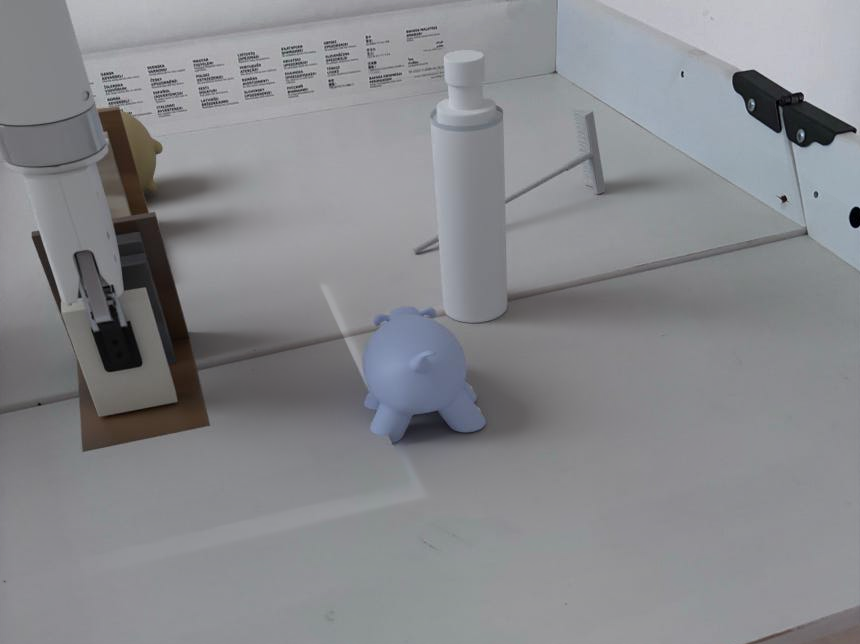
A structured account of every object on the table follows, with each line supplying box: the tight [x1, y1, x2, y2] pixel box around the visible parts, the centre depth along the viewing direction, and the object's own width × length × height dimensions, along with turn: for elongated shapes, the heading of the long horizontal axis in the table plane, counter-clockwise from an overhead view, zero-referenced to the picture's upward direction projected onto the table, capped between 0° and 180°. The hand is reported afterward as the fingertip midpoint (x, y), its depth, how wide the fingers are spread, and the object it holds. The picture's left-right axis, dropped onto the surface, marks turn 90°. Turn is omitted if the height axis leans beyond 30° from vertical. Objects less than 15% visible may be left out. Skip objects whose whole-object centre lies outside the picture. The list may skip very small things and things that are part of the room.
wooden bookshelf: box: [96, 106, 150, 219], centre depth 109 cm, size 18×11×13 cm, turn 18°
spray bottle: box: [429, 49, 508, 324], centre depth 93 cm, size 7×7×25 cm
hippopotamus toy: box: [362, 305, 487, 445], centre depth 85 cm, size 11×15×10 cm
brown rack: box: [31, 211, 211, 453], centre depth 87 cm, size 18×11×13 cm, turn 18°
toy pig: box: [96, 106, 164, 194], centre depth 123 cm, size 10×12×11 cm
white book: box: [61, 287, 177, 417], centre depth 85 cm, size 2×7×10 cm, turn 108°
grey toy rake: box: [412, 107, 606, 255], centre depth 115 cm, size 4×27×9 cm, turn 124°
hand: (123, 358), depth 85 cm, fingers closed on white book, 2 cm apart
